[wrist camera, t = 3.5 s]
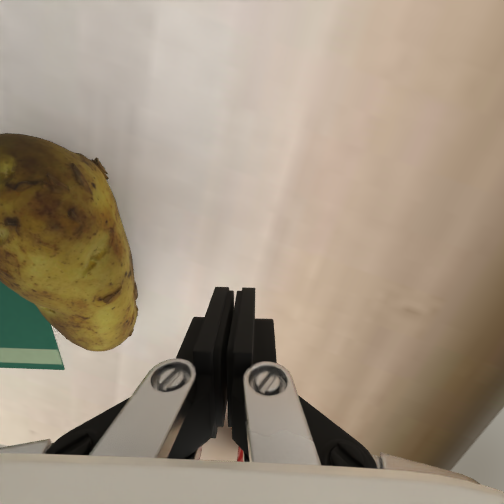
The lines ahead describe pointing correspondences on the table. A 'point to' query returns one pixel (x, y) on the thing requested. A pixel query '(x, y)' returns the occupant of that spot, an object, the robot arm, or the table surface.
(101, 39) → the table surface
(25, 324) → the towel
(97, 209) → the potato
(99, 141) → the table surface
